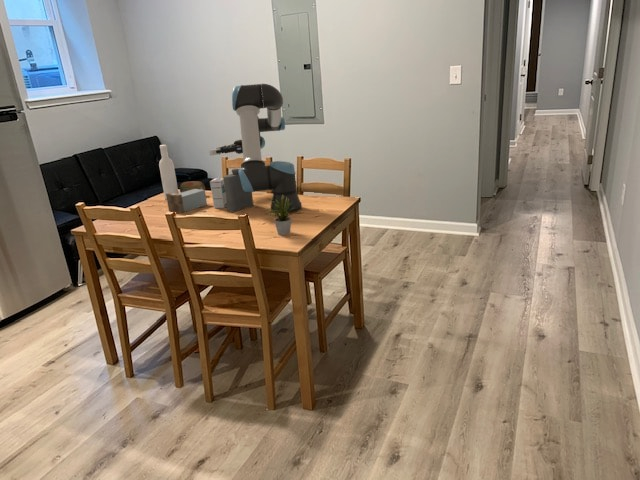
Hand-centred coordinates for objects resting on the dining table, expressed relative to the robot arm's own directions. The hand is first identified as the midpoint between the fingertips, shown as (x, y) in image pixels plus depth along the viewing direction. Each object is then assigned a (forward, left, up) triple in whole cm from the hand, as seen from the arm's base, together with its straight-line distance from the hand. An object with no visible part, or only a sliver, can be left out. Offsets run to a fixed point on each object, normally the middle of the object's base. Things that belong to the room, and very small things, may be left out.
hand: (210, 152), depth 265 cm
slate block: (+3, +16, -26) cm, 31 cm away
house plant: (-71, +27, -26) cm, 80 cm away
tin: (+21, -1, -26) cm, 34 cm away
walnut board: (+3, +25, -26) cm, 36 cm away
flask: (-25, +7, -26) cm, 36 cm away
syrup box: (-13, +9, -26) cm, 30 cm away
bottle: (+29, +8, -26) cm, 40 cm away
